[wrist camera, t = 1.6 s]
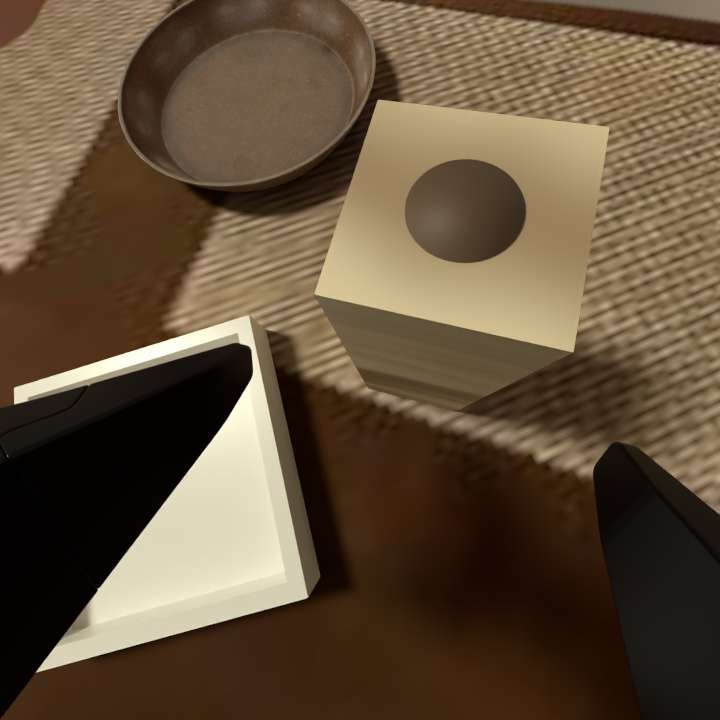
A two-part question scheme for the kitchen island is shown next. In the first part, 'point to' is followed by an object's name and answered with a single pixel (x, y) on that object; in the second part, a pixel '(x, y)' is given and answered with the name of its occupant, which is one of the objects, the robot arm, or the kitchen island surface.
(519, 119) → the maple block
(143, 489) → the robot arm
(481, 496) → the kitchen island surface
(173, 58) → the plant saucer
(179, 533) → the tray
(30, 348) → the kitchen island surface
